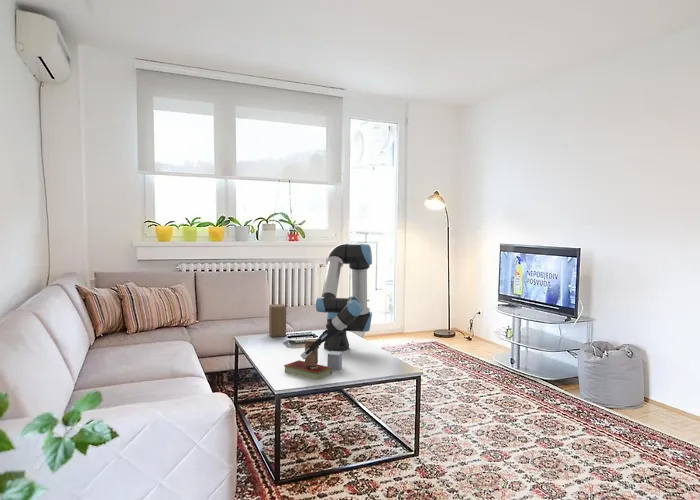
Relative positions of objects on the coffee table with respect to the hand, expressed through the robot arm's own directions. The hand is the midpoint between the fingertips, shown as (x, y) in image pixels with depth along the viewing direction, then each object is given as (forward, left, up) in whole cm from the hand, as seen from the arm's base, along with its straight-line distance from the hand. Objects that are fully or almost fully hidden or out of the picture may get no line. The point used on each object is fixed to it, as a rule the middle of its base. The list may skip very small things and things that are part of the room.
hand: (304, 355), depth 238 cm
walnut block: (0, +4, -4) cm, 5 cm away
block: (-69, -43, -9) cm, 82 cm away
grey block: (-11, +13, -8) cm, 19 cm away
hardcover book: (+1, +2, -9) cm, 9 cm away
